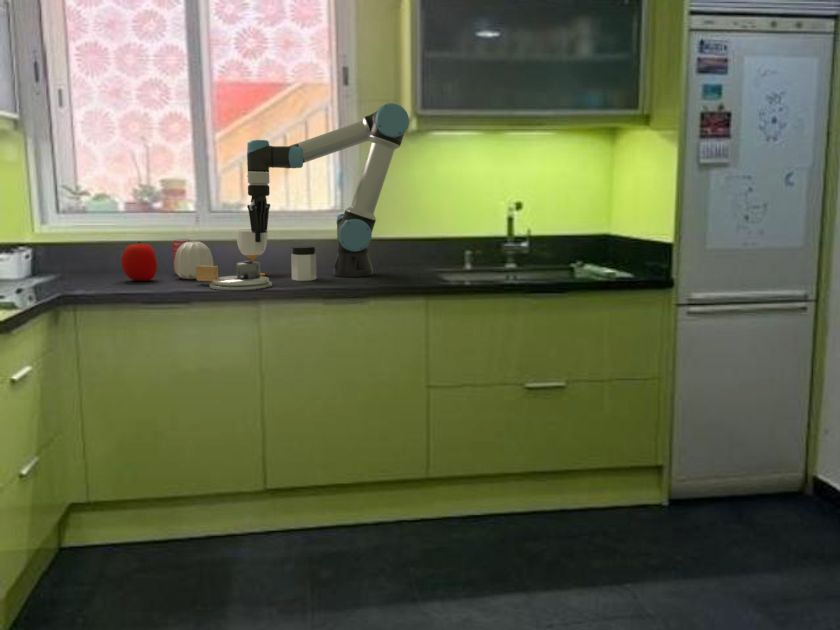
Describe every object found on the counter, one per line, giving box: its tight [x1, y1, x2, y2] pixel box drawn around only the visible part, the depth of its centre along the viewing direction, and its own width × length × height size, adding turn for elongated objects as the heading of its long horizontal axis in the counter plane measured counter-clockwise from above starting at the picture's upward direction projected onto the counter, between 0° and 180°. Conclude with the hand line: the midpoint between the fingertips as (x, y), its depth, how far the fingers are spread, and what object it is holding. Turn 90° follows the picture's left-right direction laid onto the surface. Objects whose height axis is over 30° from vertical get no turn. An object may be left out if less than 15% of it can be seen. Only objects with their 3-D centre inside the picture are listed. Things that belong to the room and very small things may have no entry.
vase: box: [173, 240, 215, 280], centre depth 302 cm, size 14×14×13 cm
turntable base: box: [209, 280, 273, 292], centre depth 282 cm, size 21×21×1 cm
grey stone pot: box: [236, 260, 261, 279], centre depth 287 cm, size 8×8×6 cm
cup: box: [235, 228, 268, 277], centre depth 311 cm, size 12×12×17 cm
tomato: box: [120, 241, 158, 282], centre depth 294 cm, size 13×11×14 cm
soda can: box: [172, 238, 191, 275], centre depth 315 cm, size 7×7×13 cm
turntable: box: [196, 265, 270, 286], centre depth 283 cm, size 26×19×5 cm
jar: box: [290, 245, 317, 282], centre depth 299 cm, size 9×8×12 cm
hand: (259, 251), depth 295 cm, fingers closed
